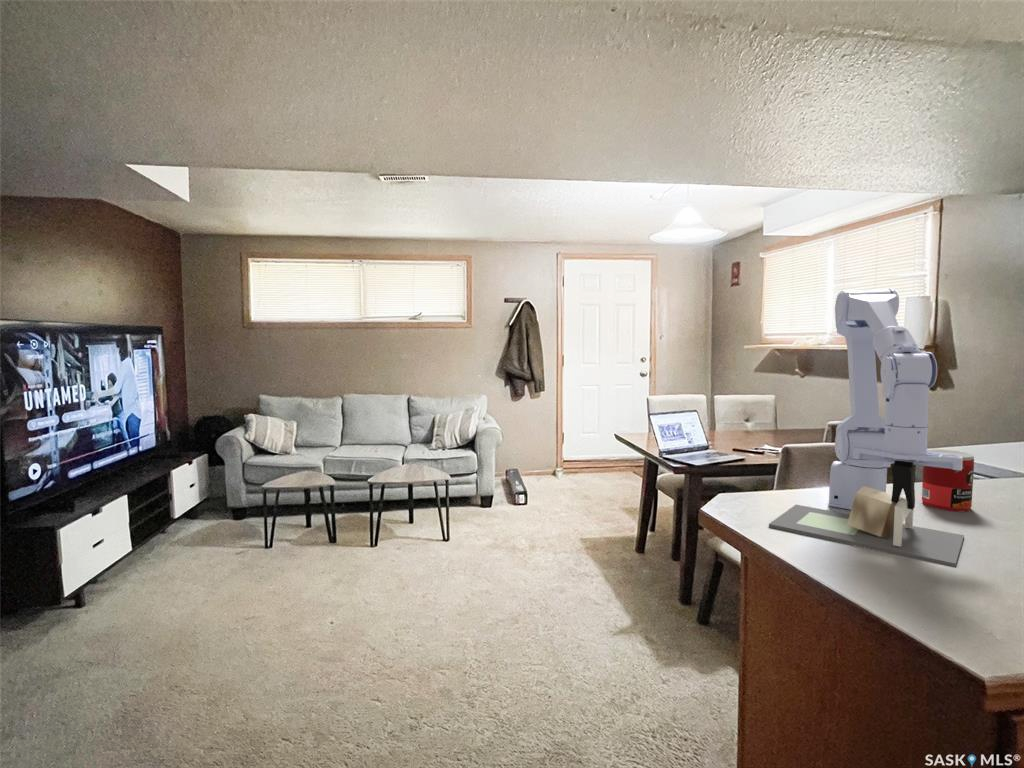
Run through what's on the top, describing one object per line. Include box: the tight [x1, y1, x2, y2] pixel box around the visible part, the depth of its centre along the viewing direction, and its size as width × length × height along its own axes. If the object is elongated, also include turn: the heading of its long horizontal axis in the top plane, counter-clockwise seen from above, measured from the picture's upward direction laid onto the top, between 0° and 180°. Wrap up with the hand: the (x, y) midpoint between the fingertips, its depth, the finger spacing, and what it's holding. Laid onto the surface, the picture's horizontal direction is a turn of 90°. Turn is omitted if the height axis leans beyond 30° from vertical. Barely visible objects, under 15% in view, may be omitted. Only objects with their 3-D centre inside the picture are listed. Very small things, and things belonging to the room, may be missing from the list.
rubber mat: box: [768, 504, 965, 568], centre depth 93 cm, size 26×16×1 cm, turn 46°
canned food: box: [921, 449, 975, 512], centre depth 107 cm, size 8×8×11 cm
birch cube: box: [847, 486, 902, 540], centre depth 91 cm, size 6×6×6 cm
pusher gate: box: [893, 493, 915, 547], centre depth 89 cm, size 1×13×6 cm, turn 136°
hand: (903, 506), depth 89 cm, fingers closed
